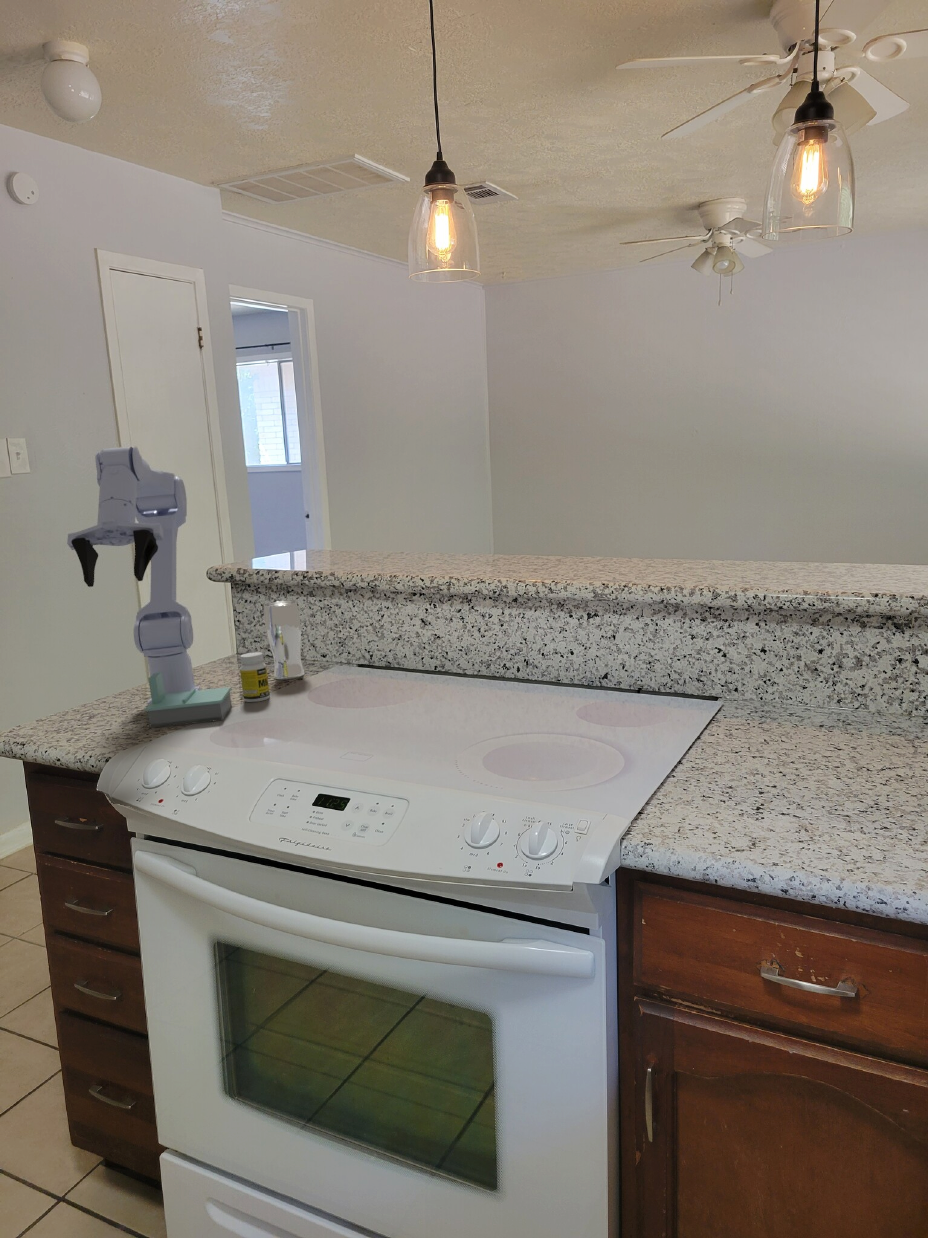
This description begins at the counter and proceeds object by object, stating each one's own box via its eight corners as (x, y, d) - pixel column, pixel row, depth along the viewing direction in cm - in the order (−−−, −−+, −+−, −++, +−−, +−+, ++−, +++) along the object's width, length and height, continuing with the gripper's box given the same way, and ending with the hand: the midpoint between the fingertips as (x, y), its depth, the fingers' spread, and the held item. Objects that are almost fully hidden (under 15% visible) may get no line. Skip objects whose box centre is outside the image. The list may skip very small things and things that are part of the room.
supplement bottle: (263, 702, 159) (257, 656, 158) (239, 703, 160) (233, 658, 159) (274, 695, 164) (268, 651, 162) (250, 696, 165) (245, 652, 163)
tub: (163, 713, 157) (161, 697, 157) (231, 706, 158) (229, 690, 158) (150, 727, 149) (147, 710, 148) (222, 720, 149) (219, 703, 149)
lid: (159, 697, 157) (155, 669, 156) (231, 689, 158) (227, 662, 157) (145, 711, 148) (140, 682, 147) (221, 703, 149) (217, 674, 148)
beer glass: (296, 670, 184) (287, 599, 181) (313, 674, 178) (304, 601, 176) (266, 677, 179) (256, 604, 177) (282, 682, 174) (272, 607, 172)
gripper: (62, 500, 141) (55, 573, 134) (154, 489, 142) (152, 562, 135) (79, 524, 147) (73, 595, 141) (167, 514, 148) (166, 584, 142)
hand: (113, 580), depth 138 cm, fingers open, 7 cm apart
